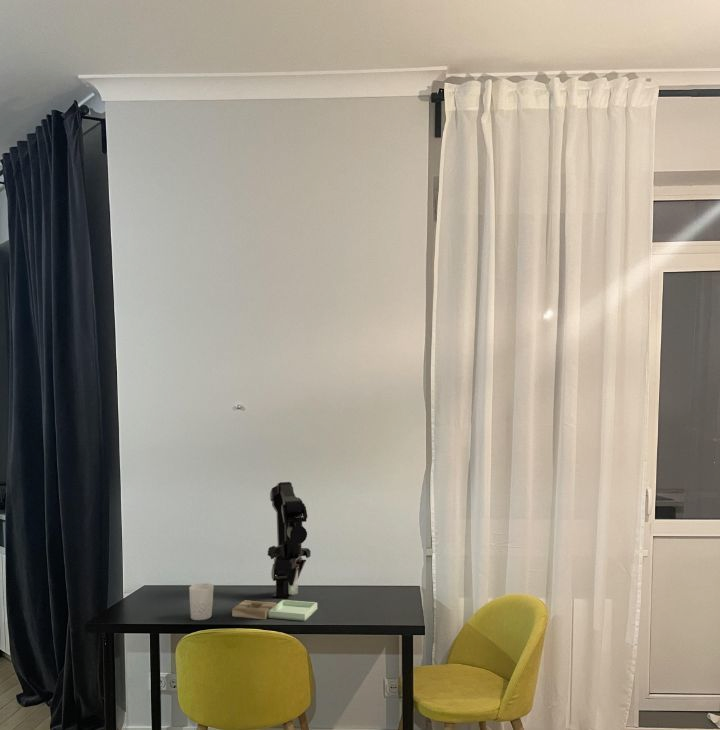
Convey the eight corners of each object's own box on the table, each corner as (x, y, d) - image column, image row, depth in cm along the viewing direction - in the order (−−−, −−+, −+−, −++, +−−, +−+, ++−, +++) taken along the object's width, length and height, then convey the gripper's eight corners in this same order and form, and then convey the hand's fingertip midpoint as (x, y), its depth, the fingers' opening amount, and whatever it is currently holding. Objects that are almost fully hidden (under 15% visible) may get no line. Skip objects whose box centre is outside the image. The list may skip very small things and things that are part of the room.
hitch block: (244, 607, 206) (244, 600, 206) (276, 610, 202) (276, 602, 203) (232, 616, 197) (232, 608, 197) (265, 619, 194) (265, 611, 194)
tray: (282, 606, 207) (282, 599, 207) (317, 609, 203) (317, 602, 203) (268, 617, 195) (268, 611, 195) (304, 621, 192) (304, 614, 192)
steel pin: (290, 590, 202) (289, 563, 203) (300, 591, 201) (300, 563, 202) (285, 594, 198) (285, 566, 199) (296, 595, 197) (296, 567, 198)
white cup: (189, 622, 192) (189, 591, 193) (188, 614, 199) (189, 584, 200) (213, 619, 194) (214, 588, 195) (212, 612, 202) (213, 582, 202)
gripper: (282, 530, 212) (282, 574, 211) (259, 542, 194) (259, 590, 193) (310, 532, 209) (311, 576, 208) (291, 543, 191) (291, 592, 190)
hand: (293, 583), depth 200 cm, fingers closed on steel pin, 3 cm apart
